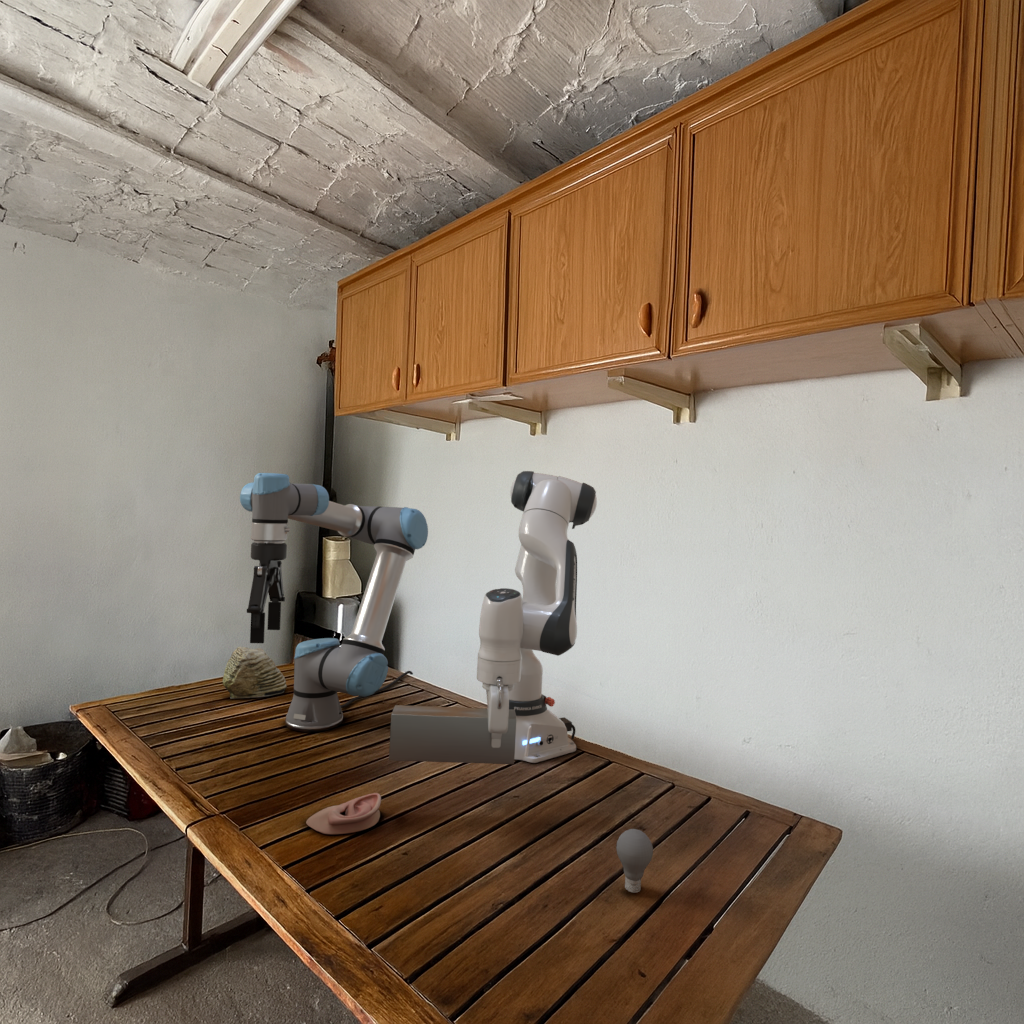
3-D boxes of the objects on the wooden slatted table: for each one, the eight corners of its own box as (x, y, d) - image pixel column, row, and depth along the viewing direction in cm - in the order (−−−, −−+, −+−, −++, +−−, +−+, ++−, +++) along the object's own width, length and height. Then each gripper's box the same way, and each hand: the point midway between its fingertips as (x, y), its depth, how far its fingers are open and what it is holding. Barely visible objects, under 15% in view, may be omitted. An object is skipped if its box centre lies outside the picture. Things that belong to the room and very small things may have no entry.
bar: (388, 760, 123) (391, 714, 123) (392, 749, 129) (395, 705, 129) (514, 764, 124) (516, 718, 124) (512, 753, 130) (514, 709, 130)
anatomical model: (298, 809, 120) (327, 783, 131) (297, 830, 120) (327, 802, 131) (363, 819, 117) (388, 791, 128) (362, 840, 117) (387, 811, 128)
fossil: (218, 695, 195) (220, 647, 195) (278, 685, 208) (279, 640, 207) (228, 703, 189) (230, 653, 188) (289, 692, 201) (290, 645, 201)
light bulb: (610, 879, 108) (613, 822, 108) (644, 879, 109) (647, 822, 109) (619, 902, 102) (622, 840, 102) (655, 901, 103) (658, 840, 103)
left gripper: (271, 546, 130) (267, 649, 130) (298, 538, 155) (295, 625, 155) (233, 545, 129) (229, 648, 130) (267, 537, 154) (264, 624, 154)
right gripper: (517, 686, 117) (513, 761, 117) (512, 659, 137) (508, 722, 137) (483, 685, 116) (479, 760, 116) (482, 658, 137) (479, 721, 137)
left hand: (265, 636), depth 142 cm, fingers open, 13 cm apart
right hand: (495, 739), depth 127 cm, fingers closed on bar, 6 cm apart
